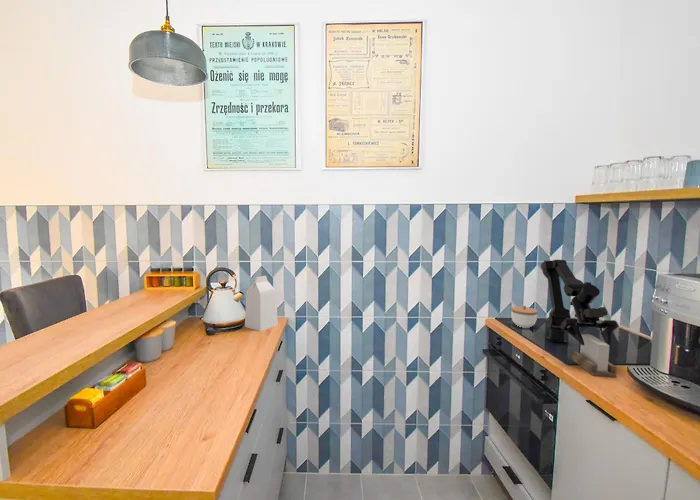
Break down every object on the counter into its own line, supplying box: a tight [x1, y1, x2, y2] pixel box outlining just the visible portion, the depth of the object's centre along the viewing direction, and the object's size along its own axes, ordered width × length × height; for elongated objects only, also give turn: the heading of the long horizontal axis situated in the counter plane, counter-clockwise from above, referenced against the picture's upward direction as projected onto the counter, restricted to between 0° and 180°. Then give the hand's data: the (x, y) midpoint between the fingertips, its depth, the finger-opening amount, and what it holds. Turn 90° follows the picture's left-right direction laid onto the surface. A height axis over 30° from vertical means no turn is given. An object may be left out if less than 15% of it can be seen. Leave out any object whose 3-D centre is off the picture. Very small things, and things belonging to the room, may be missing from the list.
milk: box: [244, 275, 279, 332], centre depth 179 cm, size 12×12×26 cm
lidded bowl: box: [510, 305, 539, 329], centre depth 185 cm, size 13×13×11 cm
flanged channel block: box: [571, 350, 617, 378], centre depth 133 cm, size 15×8×4 cm, turn 173°
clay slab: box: [579, 333, 610, 372], centre depth 133 cm, size 12×4×10 cm, turn 173°
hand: (596, 345), depth 131 cm, fingers open, 9 cm apart
